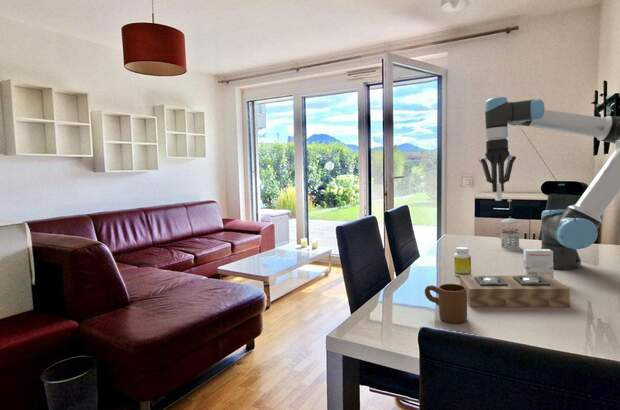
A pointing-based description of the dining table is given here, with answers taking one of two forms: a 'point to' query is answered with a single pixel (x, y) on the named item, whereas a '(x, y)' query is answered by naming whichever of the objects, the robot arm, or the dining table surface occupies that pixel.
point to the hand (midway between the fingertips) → (498, 200)
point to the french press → (509, 235)
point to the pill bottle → (462, 262)
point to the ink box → (538, 262)
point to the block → (516, 291)
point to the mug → (450, 302)
